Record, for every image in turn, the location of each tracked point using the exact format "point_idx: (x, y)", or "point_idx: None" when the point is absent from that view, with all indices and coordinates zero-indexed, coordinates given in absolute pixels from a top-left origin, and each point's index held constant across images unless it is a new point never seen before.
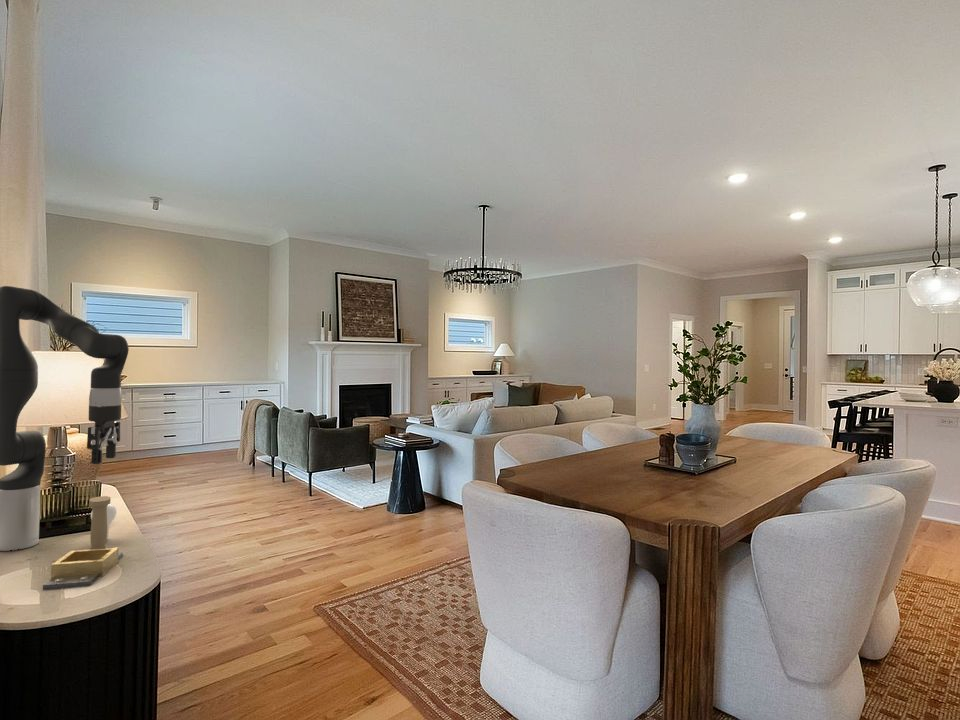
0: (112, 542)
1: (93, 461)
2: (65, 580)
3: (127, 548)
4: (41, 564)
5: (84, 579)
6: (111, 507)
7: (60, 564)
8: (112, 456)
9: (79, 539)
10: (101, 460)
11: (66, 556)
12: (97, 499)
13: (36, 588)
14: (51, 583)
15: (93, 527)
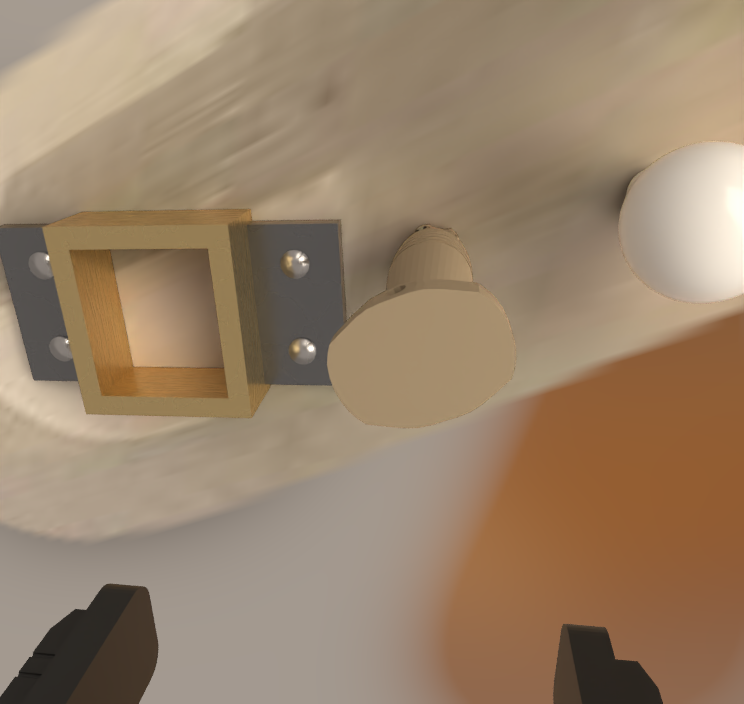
0: (580, 261)
1: (69, 629)
2: (39, 290)
3: None
4: (287, 52)
5: (50, 354)
6: (690, 293)
7: (52, 262)
8: (560, 701)
9: (709, 41)
10: (134, 693)
11: (144, 242)
12: (405, 349)
13: (13, 194)
14: (10, 252)
15: (388, 277)
